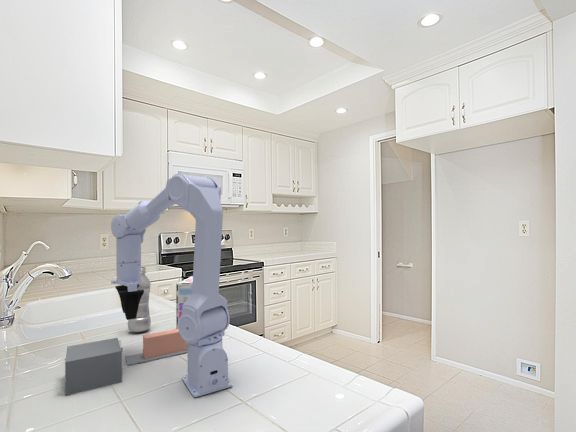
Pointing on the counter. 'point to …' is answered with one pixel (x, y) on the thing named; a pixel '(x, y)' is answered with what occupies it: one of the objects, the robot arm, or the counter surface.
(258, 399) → the counter surface
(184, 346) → the tall peach block
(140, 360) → the pad
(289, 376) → the counter surface
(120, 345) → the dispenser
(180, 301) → the candy box
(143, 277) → the plastic bottle
